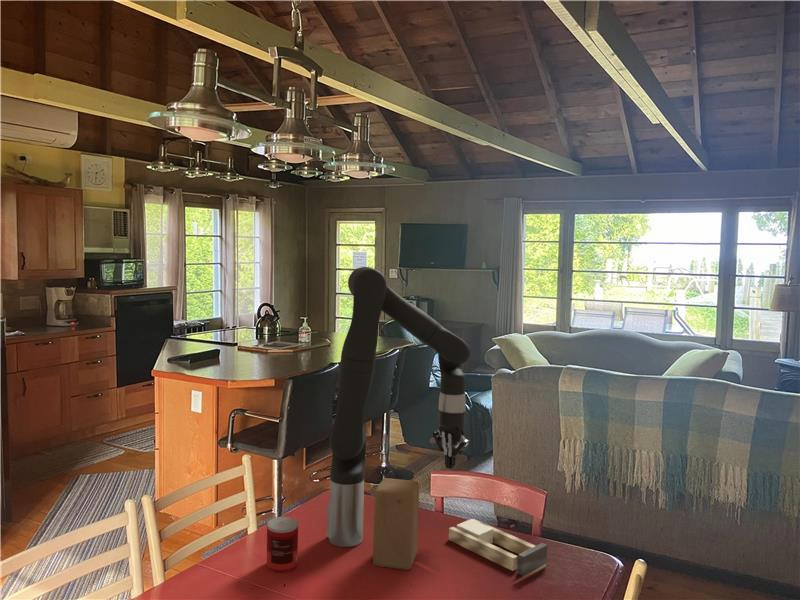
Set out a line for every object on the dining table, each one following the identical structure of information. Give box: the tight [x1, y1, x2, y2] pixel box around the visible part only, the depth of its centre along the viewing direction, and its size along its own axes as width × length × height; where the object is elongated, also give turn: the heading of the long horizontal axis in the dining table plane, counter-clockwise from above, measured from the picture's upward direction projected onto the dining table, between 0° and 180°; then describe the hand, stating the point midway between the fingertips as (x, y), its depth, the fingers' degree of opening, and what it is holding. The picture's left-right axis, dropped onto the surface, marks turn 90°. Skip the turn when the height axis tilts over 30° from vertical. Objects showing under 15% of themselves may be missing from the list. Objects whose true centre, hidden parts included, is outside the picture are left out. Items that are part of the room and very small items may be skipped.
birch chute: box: [448, 518, 548, 579], centre depth 170 cm, size 26×10×6 cm, turn 43°
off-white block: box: [456, 518, 494, 545], centre depth 175 cm, size 8×6×4 cm
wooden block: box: [372, 477, 420, 571], centre depth 164 cm, size 10×10×20 cm
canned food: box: [266, 516, 299, 574], centre depth 160 cm, size 8×8×11 cm
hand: (450, 468), depth 181 cm, fingers closed
